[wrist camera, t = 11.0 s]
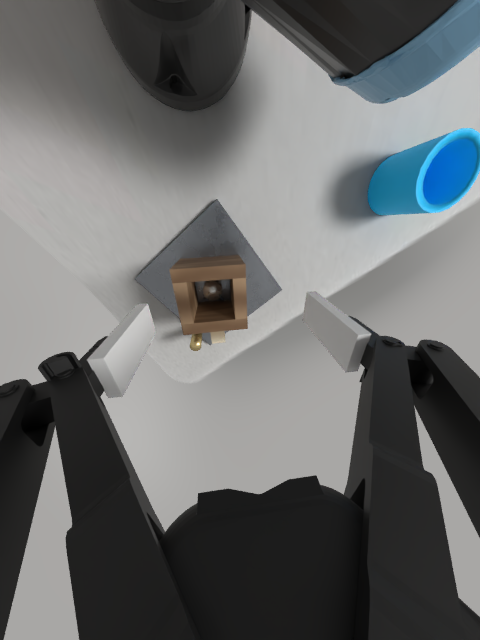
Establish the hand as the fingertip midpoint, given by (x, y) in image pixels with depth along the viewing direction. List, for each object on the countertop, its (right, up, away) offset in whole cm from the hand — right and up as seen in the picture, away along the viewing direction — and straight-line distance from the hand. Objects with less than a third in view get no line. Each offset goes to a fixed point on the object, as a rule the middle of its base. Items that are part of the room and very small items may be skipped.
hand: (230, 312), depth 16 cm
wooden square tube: (-4, +3, +18) cm, 19 cm away
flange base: (-4, +6, +18) cm, 19 cm away
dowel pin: (-7, -2, +21) cm, 22 cm away
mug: (+27, +22, +14) cm, 37 cm away
